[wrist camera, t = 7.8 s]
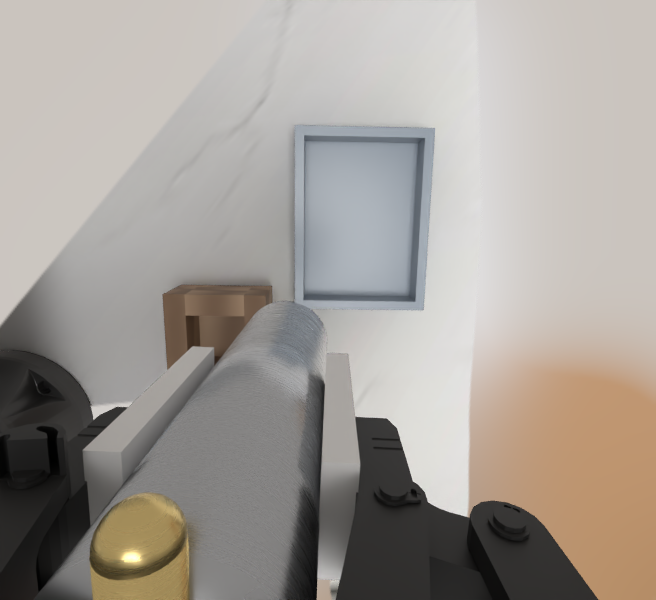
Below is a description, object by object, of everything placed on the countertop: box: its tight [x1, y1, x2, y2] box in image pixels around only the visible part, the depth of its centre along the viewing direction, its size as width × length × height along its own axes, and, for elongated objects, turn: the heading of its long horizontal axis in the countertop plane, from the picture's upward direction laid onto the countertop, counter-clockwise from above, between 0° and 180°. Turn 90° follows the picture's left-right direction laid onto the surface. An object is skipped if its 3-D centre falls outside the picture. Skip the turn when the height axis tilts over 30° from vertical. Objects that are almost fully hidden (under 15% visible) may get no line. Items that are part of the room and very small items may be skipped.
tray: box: [295, 125, 435, 310], centre depth 39 cm, size 12×16×4 cm
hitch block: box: [163, 285, 272, 370], centre depth 40 cm, size 9×9×5 cm
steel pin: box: [34, 301, 327, 600], centre depth 12 cm, size 4×6×16 cm, turn 177°
